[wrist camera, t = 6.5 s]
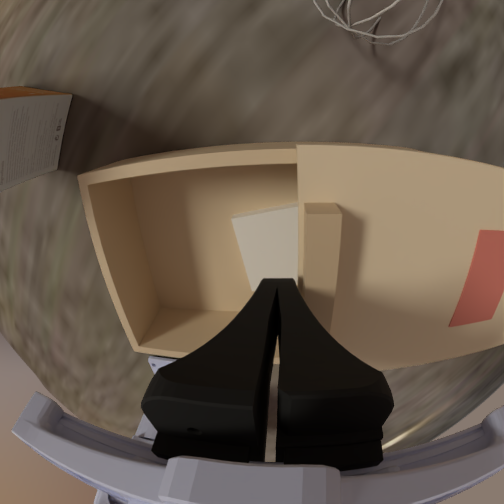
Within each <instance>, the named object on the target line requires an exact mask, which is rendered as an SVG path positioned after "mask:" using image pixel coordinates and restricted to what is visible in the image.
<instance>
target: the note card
mask: <svg viewBox="0 0 504 504" xmlns="http://www.w3.org/2000/svg"><path fill="white" fill-rule="evenodd" d="M231 221H232V224H233V228H234V231H235V235H236V238H237V242H238V245H239V249H240V252H241V256H242V259H243V262H244V266H245V269H246V273H247V276H248V280H249V283H250V287H251V290H252V291H255V290H256V289H257V287H258V285H259V284H260V282H261V280H262V279H263V278H293V279H294V280H295V282H296V285H297V276H298V202H296V203H290V204H285V205H280V206H274V207H269V208H264V209H259V210H254V211H249V212H244V213H239V214H234V215H233V216H232V218H231Z"/></svg>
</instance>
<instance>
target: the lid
mask: <svg viewBox="0 0 504 504" xmlns="http://www.w3.org/2000/svg"><path fill="white" fill-rule="evenodd" d="M296 147H297V180H298V276H297V288H298V290H299V292H300V294H301V296H302V297H303V299H304V301H305V302H306V304H307V306H308V307H309V309H310V310H311V312H312V313H313V314H314V316H315V317H316V319H317V320H318V321H319V322H320V324H321V325H322V326H323V327H324V328H325V329H326V331H327V332H328V333H329V334H330V335H331V336H332V337H333V338H334V339H335V340H336V341H337V342H338V343H339V344H341V345H342V346H343V347H344V348H345V349H347V350H348V351H349V352H350V353H352V354H353V355H354V356H356V357H357V358H359V359H360V360H361V361H363V362H365V363H366V364H368V365H370V366H371V367H373V368H375V369H377V370H378V371H381V370H389V369H396V368H403V367H410V366H416V365H421V364H427V363H432V362H437V361H442V360H447V359H451V358H455V357H460V356H464V355H468V354H471V353H475V352H479V351H482V350H486V349H489V348H493V347H496V346H499V345H502V344H504V168H502V167H498V166H494V165H490V164H486V163H482V162H477V161H473V160H468V159H463V158H458V157H452V156H447V155H441V154H434V153H428V152H421V151H413V150H405V149H396V148H385V147H373V146H358V145H337V144H296Z"/></svg>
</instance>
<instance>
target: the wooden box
mask: <svg viewBox="0 0 504 504" xmlns="http://www.w3.org/2000/svg"><path fill="white" fill-rule="evenodd" d="M296 144H337V145H358V146H373V147H385V148H396V149H405V150H413V151H419V150H415V149H411V148H406V147H397V146H388V145H376V144H363V143H345V142H264V143H245V144H231V145H219V146H209V147H200V148H191V149H183V150H176V151H169V152H162V153H156V154H150V155H144V156H139V157H133V158H128V159H124V160H121V161H117V162H114V163H111V164H108V165H105V166H102V167H99V168H97V169H94V170H91V171H88V172H86V173H83V174H80V175H78V182H79V187H80V192H81V197H82V201H83V206H84V210H85V214H86V218H87V222H88V226H89V230H90V234H91V237H92V241H93V244H94V248H95V251H96V254H97V258H98V261H99V264H100V267H101V270H102V273H103V276H104V279H105V282H106V284H107V287H108V290H109V293H110V295H111V298H112V301H113V303H114V306H115V308H116V311H117V313H118V316H119V318H120V320H121V323H122V325H123V328H124V330H125V332H126V334H127V337H128V339H129V341H130V343H131V345H132V347H133V350H134V351H136V352H142V353H148V354H155V355H162V356H169V357H177V358H182V357H184V356H186V355H188V354H189V353H191V352H193V351H195V350H196V349H198V348H199V347H201V346H202V345H204V344H205V343H207V342H208V341H209V340H211V339H212V338H213V337H214V336H216V335H217V334H218V333H219V332H220V331H222V330H223V329H224V328H225V327H226V326H227V325H228V324H229V323H230V322H231V321H232V320H233V319H234V318H235V317H236V315H237V314H238V313H239V312H240V311H241V310H242V308H243V307H244V306H245V305H246V303H247V302H248V301H249V299H250V298H251V296H252V295H253V293H254V292H255V291H252V290H251V287H250V283H249V280H248V276H247V273H246V269H245V266H244V262H243V259H242V256H241V252H240V249H239V245H238V242H237V238H236V235H235V231H234V228H233V224H232V221H231V218H232V216H233V215H234V214H239V213H244V212H249V211H254V210H259V209H264V208H269V207H274V206H280V205H285V204H290V203H296V202H298V180H297V147H296ZM421 152H422V151H421ZM273 364H280V360H279V345H278V337H277V344H276V350H275V356H274V362H273Z"/></svg>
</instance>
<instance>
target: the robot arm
mask: <svg viewBox="0 0 504 504" xmlns="http://www.w3.org/2000/svg"><path fill="white" fill-rule="evenodd" d="M277 337H278V345H279V360H280V365H279V379H278V409H277V437H276V462H265V449H266V435H267V421H268V407H269V392H270V381H271V374H272V368H273V362H274V356H275V350H276V344H277ZM148 362H149V364H150V366H151V368H152V370H153V372H154V374H155V375H154V377H153V378H152V380H151V382H150V384H149V386H148V388H147V390H146V393H145V395H144V397H143V400H142V402H141V408H142V410H143V412H144V414H143V417H142V419H141V422H140V424H139V426H138V429H137V431H136V434H135V435H133V437H132V439H131V438H128V437H125V436H122V435H119V434H116V433H113V432H110V431H107V430H105V429H102V428H99V427H97V426H94V425H92V424H89V423H87V422H85V421H82V420H80V419H78V418H75V417H73V416H71V415H69V414H67V413H65V412H64V411H63V410H62V408H61V407H60V406H59V405H58V404H57V403H56V402H55V401H53V400H52V399H50V398H48V397H46V396H44V395H43V394H41V393H39V392H35V393H34V394H33V396H32V397H31V399H30V401H29V402H28V404H27V405H26V407H25V408H24V410H23V412H22V413H21V415H20V417H19V418H18V420H17V422H16V423H15V425H14V427H13V428H12V432H13V433H14V434H15V435H16V436H17V437H18V438H20V439H21V440H22V441H23V442H24V443H25V444H27V445H28V446H29V447H30V448H32V449H33V450H34V451H35V452H37V453H38V454H39V455H41V456H42V457H43V458H45V459H46V460H48V461H49V462H51V463H52V464H54V465H56V466H57V467H58V468H60V469H62V470H63V471H65V472H67V473H69V474H70V475H72V476H74V477H75V478H77V479H79V480H81V481H83V482H84V483H86V484H88V485H90V486H92V487H94V488H96V489H97V493H96V497H95V500H94V504H436V503H438V502H441V501H443V500H446V499H448V498H450V497H452V496H455V495H457V494H459V493H461V492H463V491H465V490H467V489H469V488H471V487H473V486H475V485H477V484H478V483H480V482H482V481H484V480H486V479H488V478H489V477H491V476H493V475H494V474H496V473H497V472H499V471H500V470H502V469H503V468H504V405H503V406H501V407H499V408H497V409H495V410H494V411H492V412H491V413H490V414H489V415H488V416H486V418H485V419H484V420H483V421H482V423H480V424H478V425H475V426H473V427H471V428H468V429H466V430H463V431H460V432H458V433H455V434H453V435H450V436H447V437H444V438H441V439H438V440H435V441H431V442H428V443H425V444H421V445H417V446H414V447H410V448H406V449H402V450H397V451H393V452H388V453H383V452H382V445H381V440H382V438H383V431H382V425H383V424H384V422H385V421H386V419H387V418H388V416H389V415H390V413H391V412H392V410H393V407H394V401H393V397H392V393H391V390H390V388H389V385H388V383H387V381H386V379H385V377H384V375H383V373H382V372H380V371H378V370H377V369H375V368H373V367H371V366H370V365H368V364H366V363H365V362H363V361H361V360H360V359H359V358H357V357H356V356H354V355H353V354H352V353H350V352H349V351H348V350H347V349H345V348H344V347H343V346H342V345H341V344H339V343H338V342H337V341H336V340H335V339H334V338H333V337H332V336H331V335H330V334H329V333H328V332H327V331H326V329H325V328H324V327H323V326H322V325H321V324H320V322H319V321H318V320H317V319H316V317H315V316H314V314H313V313H312V312H311V310H310V309H309V307H308V306H307V304H306V302H305V301H304V299H303V297H302V296H301V294H300V292H299V290H298V288H297V285H296V282H295V280H294V279H293V278H263V279H262V280H261V282H260V284H259V285H258V287H257V289H256V290H255V292H254V293H253V295H252V296H251V298H250V299H249V301H248V302H247V303H246V305H245V306H244V307H243V308H242V310H241V311H240V312H239V313H238V314H237V315H236V317H235V318H234V319H233V320H232V321H231V322H230V323H229V324H228V325H227V326H226V327H225V328H224V329H223V330H222V331H220V332H219V333H218V334H217V335H216V336H214V337H213V338H212V339H211V340H209V341H208V342H207V343H205V344H204V345H202V346H201V347H199V348H198V349H196V350H195V351H193V352H191V353H189V354H188V355H186V356H184V357H182V358H180V359H178V360H176V359H169V358H161V357H155V356H150V357H149V359H148Z"/></svg>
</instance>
